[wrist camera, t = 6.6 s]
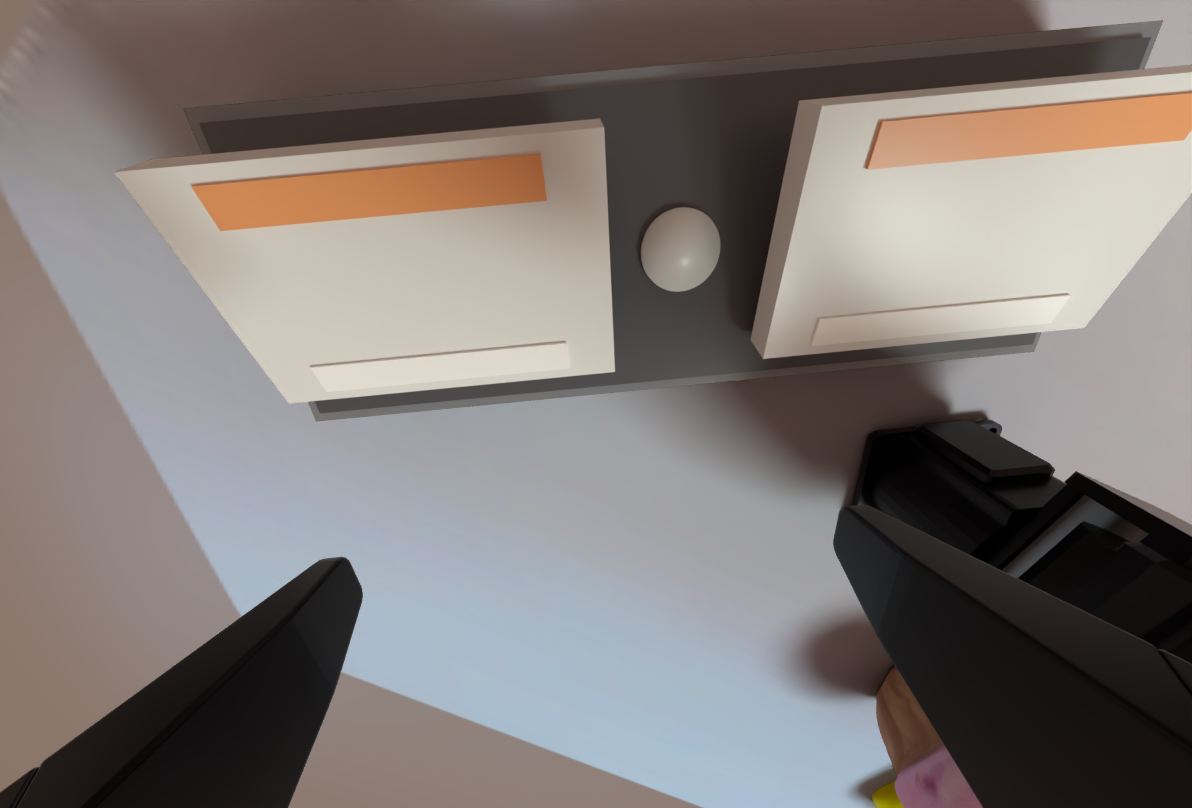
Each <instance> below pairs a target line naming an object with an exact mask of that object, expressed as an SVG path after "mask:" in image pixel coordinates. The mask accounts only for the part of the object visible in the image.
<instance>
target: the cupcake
mask: <svg viewBox="0 0 1192 808" xmlns="http://www.w3.org/2000/svg"><path fill="white" fill-rule="evenodd" d="M876 713H877V722H878V726H879V730H880V733H881V736H882V739H883V742H884V744H885V746H886V749H887V752H888V755H889V757H890V760H891V762H892V765H893V768H894V770H895V772H896V774H897V778H896V780H895V790H896V794H897V796H898V798H899V799H900V801H901V803H902V805H903V807H904V808H983V807H982V806H981V804H980V802H979V801H978V799H977V798H976V796H975V794H974V793H973V791H972V789H971V788H970V786H969V785H968V783H967V781H966V780H965V778H964V776H963V775H962V773H961V772H960V770H959V768H958V767H957V765H956V764H955V762H954V760H953V759H952V757H951V755H950V754H949V752H948V751H947V749H946V747H945V746H944V744H943V743H942V741H941V739H940V738H939V736H938V734H937V733H936V731H935V730H934V728H933V726H932V725H931V723H930V721H929V720H928V718H927V717H926V715H925V713H924V712H923V710H922V709H921V707H920V705H919V704H918V702H917V700H916V699H915V697H914V696H913V694H912V692H911V691H910V689H909V688H908V686H907V684H906V683H905V681H904V679H903V678H902V676H901V675H900V673H899V671H898V670H897V668H896V667H894V668H893V669H891V671H890V672H889V674H888V675H887V677H886V679H885V680H884V682H883V684H882V686H881V688H880V689H879V691H878V693H877V705H876Z"/></svg>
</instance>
